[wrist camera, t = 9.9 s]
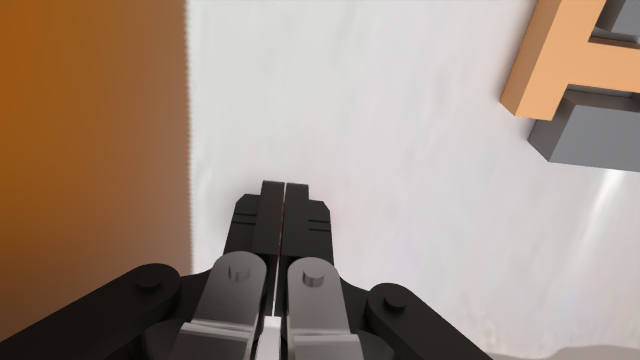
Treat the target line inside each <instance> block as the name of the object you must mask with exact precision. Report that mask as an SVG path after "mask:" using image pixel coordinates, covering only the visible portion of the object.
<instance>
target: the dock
mask: <svg viewBox="0 0 640 360" xmlns="http://www.w3.org/2000/svg"><path fill="white" fill-rule="evenodd" d="M595 27H598V28H601V29H604V30H606V31H609V32H614V33H621V34H628V35H635V36H640V0H606V2H605V4H604V6H603V9H602V11H601V13H600V15H599V17H598V20H597V22H596V24H595ZM528 142H529V143H530V144H531V145H532V146H533V147H534V148H535V149H536V150H537V151H538V152H539V153H540V154H541V155H542V156H543V157H544V158H545V159H546V160H547V161H548V162H554V163H563V164H572V165H581V166H590V167H598V168H607V169H616V170H625V171H634V172H640V93H637V92H634V94H633V96H632V97H631V98H624V97H616V96H609V95H601V94H593V93H586V92H578V91H570V90H565V92H564V94H563V96H562V98H561V100H560V103H559V105H558V107H557V109H556V111H555V114H554V116H553V118H552V120H551V121H550V120H542V119H537V121H536V123H535V125H534V128H533V130H532V132H531V134H530V137H529V139H528Z"/></svg>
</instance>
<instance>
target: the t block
mask: <svg viewBox="0 0 640 360" xmlns="http://www.w3.org/2000/svg"><path fill="white" fill-rule="evenodd" d="M605 2H606V0H538V2H537V4H536V7H535V10H534V12H533V15H532V18H531V20H530V23H529V25H528V28H527V31H526V33H525V36H524V39H523V41H522V44H521V47H520V49H519V52H518V55H517V57H516V60H515V62H514V65H513V68H512V70H511V73H510V76H509V78H508V81H507V84H506V86H505V89H504V92H503V94H502V97H501V99H500V103H501V104H502V105H503V106H504V107H505V108H506V109H508V110H509V111H510V112H511V113H512V114H513V115H514V116H517V117H526V118H534V119H542V120H550V121H551V120H552V118H553V116H554V114H555V111H556V109H557V107H558V105H559V103H560V100H561V98H562V96H563V94H564V92H565V90H566V87H567V85H568V83H569V84H576V85H584V86H592V87H599V88H607V89H614V90H622V91H629V92H637V93H640V44H638V43H632V42H625V41H618V40H611V39H604V38H597V37H590V35H591V33H592V31H593V28H594V26H595V24H596V22H597V20H598V17H599V15H600V13H601V11H602V9H603V6H604V4H605Z"/></svg>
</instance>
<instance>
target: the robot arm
mask: <svg viewBox="0 0 640 360" xmlns="http://www.w3.org/2000/svg"><path fill="white" fill-rule="evenodd" d="M284 186H285V183H284V182H275V181H265V180H263V183H262V189H261V194H260V195H253V194H244V195H243V196H242V197H241V198H240V199H239V200H238V201H237V202H236V205H235V209H234V214H233V217H232V221H231V225H230V229H229V233H228V236H227V240H226V244H225V248H224V252H223V256H221V257H220V258H219V259H217V261H216V262H215V263H214V265H213V268H211V269H209V270H207V271H205V272H202V273H199V274H194V275H188V276H182V277H180V275H179V273H178V272H177V271H176V270H175V269H174V268H172V267H171V266H168V265H165V264H159V263H153V264H146V265H142V266H139V267H137V268H135V269H133V270H131V271H129V272H127V273H125V274H123V275H122V276H120V277H118V278H116V279H114V280H113V281H111V282H109V283H107V284H105V285H103V286H102V287H100V288H98V289H96V290H94V291H93V292H91V293H89V294H87V295H85V296H84V297H82V298H80V299H78V300H76V301H74V302H73V303H71V304H69V305H67V306H65V307H64V308H62V309H60V310H58V311H56V312H54V313H52V314H51V315H49V316H47V317H45V318H43V319H42V320H40V321H38V322H36V323H34V324H33V325H31V326H29V327H27V328H25V329H23V330H22V331H20V332H18V333H16V334H14V335H12V336H11V337H9V338H7V339H5V340H3V341H2V342H0V360H256V358H257V352H258V348H259V343H260V335H261V334H262V331H263V328H264V319H265V316H272V309H273V300H274V291H275V281H276V272H277V263H278V254H279V264H278V276H277V288H276V299H275V311H274V316H277V317H281V328H280V336H279V360H493V359H492V358H490V357H489V356H488V355H487V354H486V353H485V352H483V351H482V350H481V349H480V348H479V347H477V346H476V345H475V344H474V343H473V342H471V341H470V340H469V339H468V338H467V337H465V336H464V335H463V334H462V333H461V332H459V331H458V330H457V329H456V328H455V327H453V326H452V325H451V324H450V323H449V322H447V321H446V320H445V319H444V318H443V317H441V316H440V315H439V314H438V313H437V312H435V311H434V310H433V309H432V308H431V307H429V306H428V305H427V304H426V303H425V302H423V301H422V300H421V299H420V298H419V297H417V296H416V295H415V294H414V293H413V292H411V291H410V290H409V289H407V288H405V287H403V286H401V285H398V284H394V283H381V284H378V285H376V286H374V287H373V288H372V289H371V290H370V291H367V290H364V289H361V288H358V287H355V286H353V285H351V284H349V283H347V282H346V281H344V280H343V279H342V278H341V277H340V276H339V274H338V271H337V269H336V268H335V267H334V259H333V246H332V233H331V224H330V222H331V220H330V211H329V209H328V208H327V206H326V205H325V204H324V202H323V201H315V200H309V187H308V185H305V184H295V183H287V185H286V194H285V203H284V212H283V221H282V230H281V220H282V209H283V198H284ZM280 231H281V241H280ZM279 243H280V253H279Z"/></svg>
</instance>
